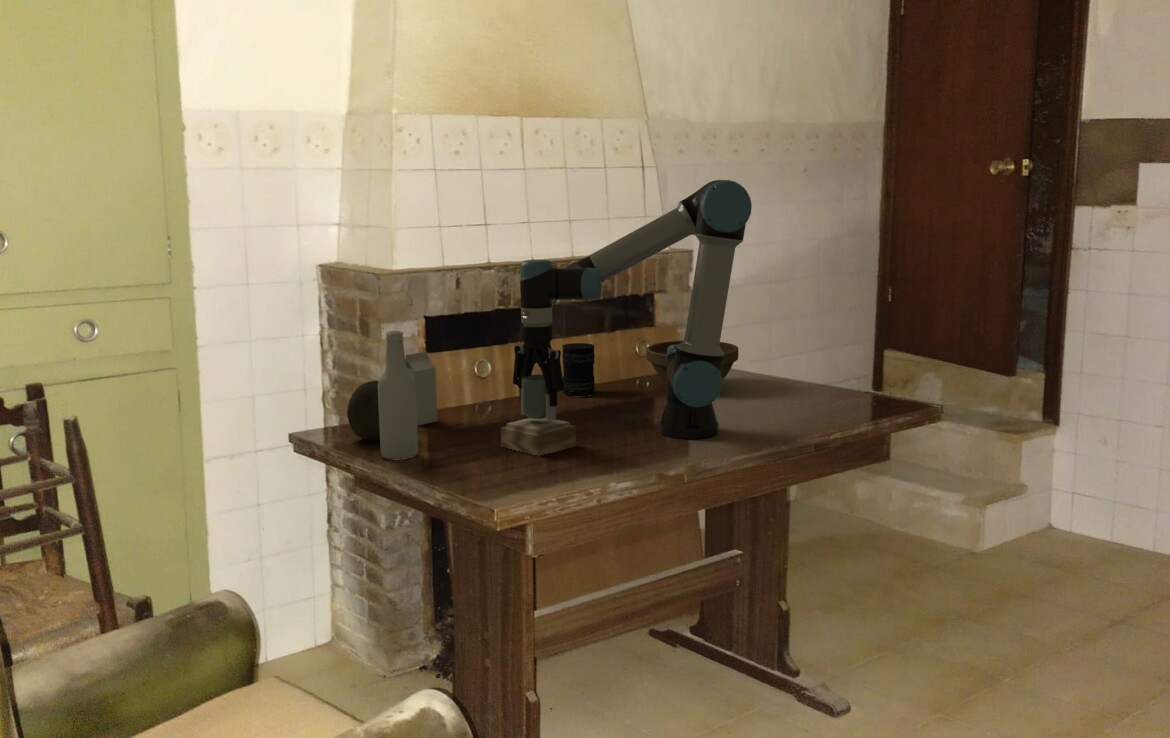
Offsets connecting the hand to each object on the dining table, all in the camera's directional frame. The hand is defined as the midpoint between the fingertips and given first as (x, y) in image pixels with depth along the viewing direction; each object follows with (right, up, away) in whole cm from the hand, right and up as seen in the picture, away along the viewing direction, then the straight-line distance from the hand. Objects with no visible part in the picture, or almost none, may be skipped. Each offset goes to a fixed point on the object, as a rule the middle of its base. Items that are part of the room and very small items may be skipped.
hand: (538, 416), depth 258 cm
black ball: (-41, -7, +10) cm, 43 cm away
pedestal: (0, -8, +1) cm, 8 cm away
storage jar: (+10, +4, +62) cm, 63 cm away
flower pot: (+45, +5, +69) cm, 83 cm away
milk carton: (-34, -3, +28) cm, 44 cm away
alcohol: (-33, -9, -6) cm, 35 cm away
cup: (0, 0, 0) cm, 0 cm away
